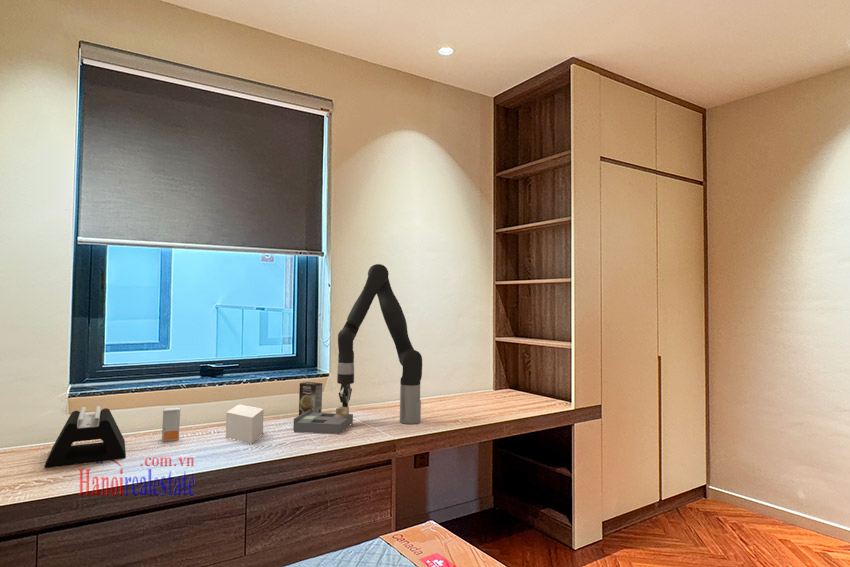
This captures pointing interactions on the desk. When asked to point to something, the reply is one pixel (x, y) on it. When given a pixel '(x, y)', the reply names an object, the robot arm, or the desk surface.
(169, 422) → the skincare box
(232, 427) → the beige rectangular block
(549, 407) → the desk surface
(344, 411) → the block
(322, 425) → the plate
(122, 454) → the device stand
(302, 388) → the coffee box
